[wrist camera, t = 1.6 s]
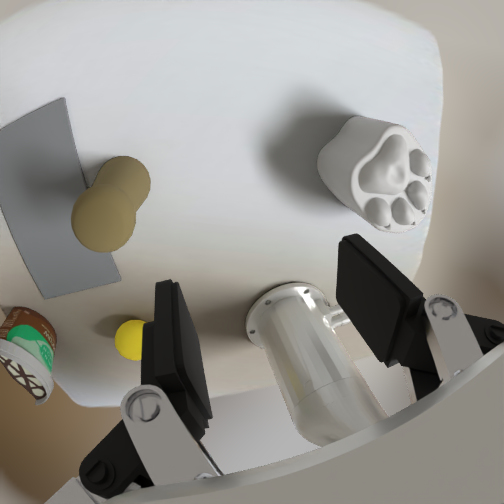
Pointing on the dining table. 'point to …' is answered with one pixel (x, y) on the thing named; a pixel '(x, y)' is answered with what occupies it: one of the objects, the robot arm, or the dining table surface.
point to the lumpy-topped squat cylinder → (378, 173)
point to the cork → (111, 205)
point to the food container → (29, 351)
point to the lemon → (130, 339)
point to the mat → (48, 202)
